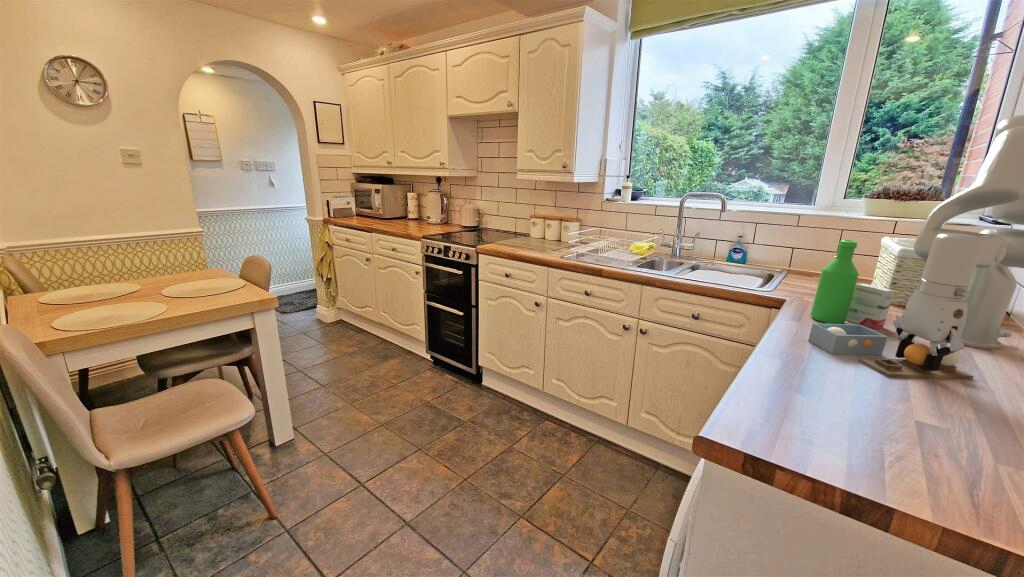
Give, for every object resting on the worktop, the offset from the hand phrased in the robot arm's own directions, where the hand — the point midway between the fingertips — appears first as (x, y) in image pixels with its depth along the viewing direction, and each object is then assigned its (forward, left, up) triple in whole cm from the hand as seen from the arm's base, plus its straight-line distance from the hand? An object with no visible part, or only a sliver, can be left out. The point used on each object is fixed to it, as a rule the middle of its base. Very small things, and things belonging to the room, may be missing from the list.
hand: (915, 363), depth 97 cm
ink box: (-15, -31, -2) cm, 34 cm away
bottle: (-5, -33, -2) cm, 33 cm away
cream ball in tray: (+10, -12, +1) cm, 16 cm away
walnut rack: (0, 0, -2) cm, 2 cm away
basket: (-58, -56, -2) cm, 81 cm away
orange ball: (0, 0, +2) cm, 2 cm away
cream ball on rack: (-6, 0, +2) cm, 7 cm away
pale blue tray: (+7, -12, -2) cm, 14 cm away
